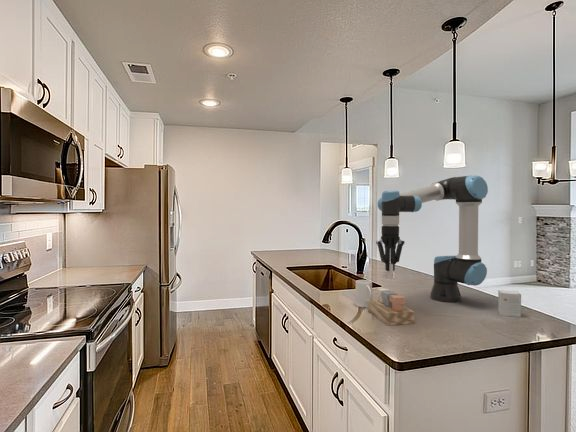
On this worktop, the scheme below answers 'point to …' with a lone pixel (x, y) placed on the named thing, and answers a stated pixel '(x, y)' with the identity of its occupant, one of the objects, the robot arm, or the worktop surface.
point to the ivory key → (380, 293)
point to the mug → (363, 293)
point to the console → (390, 314)
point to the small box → (509, 303)
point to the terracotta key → (397, 302)
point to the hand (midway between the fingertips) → (390, 278)
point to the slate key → (386, 296)
